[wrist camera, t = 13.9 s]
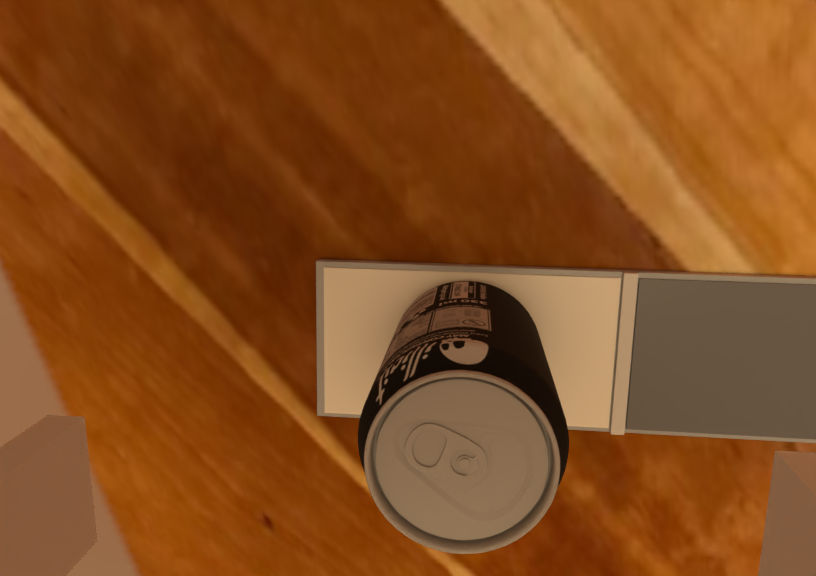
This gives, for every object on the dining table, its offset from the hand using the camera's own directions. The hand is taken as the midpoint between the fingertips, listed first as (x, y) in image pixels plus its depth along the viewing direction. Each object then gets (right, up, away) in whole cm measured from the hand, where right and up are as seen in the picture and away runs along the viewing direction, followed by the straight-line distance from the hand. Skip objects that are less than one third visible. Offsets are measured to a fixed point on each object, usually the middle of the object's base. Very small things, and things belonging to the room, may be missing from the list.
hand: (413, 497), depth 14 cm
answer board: (+10, +1, +19) cm, 21 cm away
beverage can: (+3, +1, +19) cm, 19 cm away
